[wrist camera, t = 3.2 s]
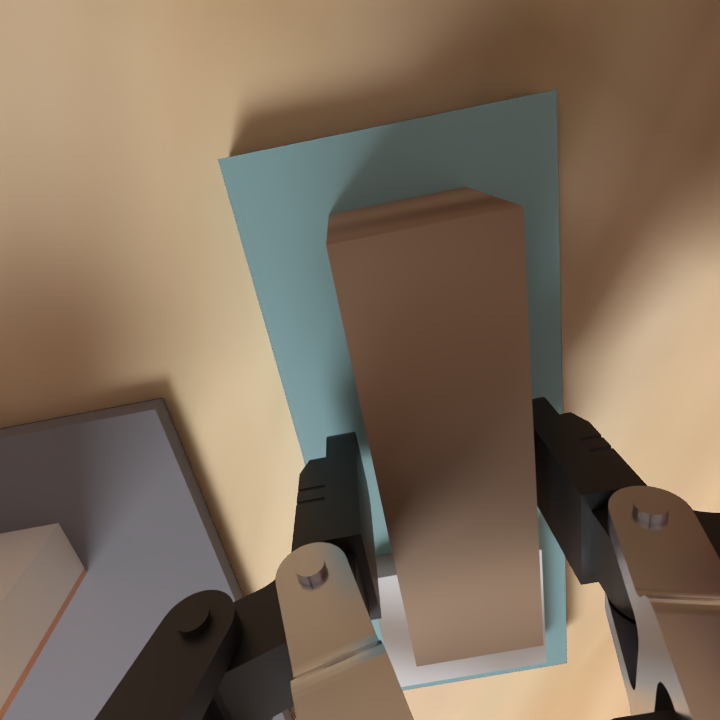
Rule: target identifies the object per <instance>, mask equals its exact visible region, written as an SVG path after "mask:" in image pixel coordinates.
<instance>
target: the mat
mask: <svg viewBox="0 0 720 720" xmlns="http://www.w3.org/2000/svg"><path fill="white" fill-rule="evenodd" d="M56 523H59V525H60V526H61V528H62V530H63V532H64V533H65V535H66V537H67V539H68V540H69V542H70V544H71V545H72V547H73V549H74V551H75V552H76V554H77V556H78V558H79V559H80V561H81V563H82V565H83V566H84V568H85V570H86V571H87V573H86V575H85V577H84V579H83V580H82V582H81V584H80V586H79V587H78V589H77V591H76V592H75V594H74V596H73V598H72V599H71V601H70V603H69V605H68V606H67V608H66V610H65V611H64V613H63V615H62V617H61V618H60V620H59V622H58V624H57V625H56V627H55V629H54V630H53V632H52V634H51V636H50V637H49V639H48V641H47V643H46V644H45V646H44V648H43V650H42V651H41V653H40V655H39V656H38V658H37V660H36V662H35V663H34V665H33V667H32V669H31V670H30V672H29V674H28V675H27V677H26V679H25V681H24V682H23V684H22V686H21V688H20V689H19V691H18V693H17V694H16V696H15V698H14V700H13V701H12V703H11V705H10V707H9V708H8V710H7V712H6V713H5V715H4V717H3V719H2V720H94V719H95V718H96V716H97V715H98V713H99V712H100V711H101V709H102V708H103V706H104V705H105V703H106V702H107V700H108V699H109V697H110V696H111V694H112V693H113V692H114V690H115V689H116V687H117V686H118V684H119V683H120V681H121V680H122V678H123V677H124V675H125V674H126V673H127V671H128V670H129V668H130V667H131V665H132V664H133V662H134V661H135V659H136V658H137V656H138V655H139V654H140V652H141V651H142V649H143V648H144V646H145V645H146V643H147V642H148V640H149V639H150V637H151V636H152V635H153V633H154V632H155V630H156V629H157V627H158V626H159V624H160V623H161V621H162V620H163V618H164V617H165V616H166V615H167V613H168V612H169V611H170V610H171V609H172V608H173V607H174V606H175V605H176V604H178V603H179V602H180V601H182V600H183V599H185V598H186V597H188V596H190V595H192V594H194V593H197V592H200V591H204V590H219V591H222V592H225V593H226V594H228V595H229V596H230V597H231V599H232V601H233V602H235V601H237V600H239V599H241V598H243V595H242V592H241V590H240V587H239V585H238V582H237V580H236V578H235V575H234V573H233V570H232V568H231V565H230V563H229V560H228V558H227V555H226V553H225V550H224V548H223V546H222V543H221V541H220V538H219V536H218V533H217V531H216V528H215V526H214V523H213V521H212V518H211V516H210V513H209V511H208V509H207V506H206V504H205V501H204V499H203V496H202V494H201V491H200V489H199V486H198V484H197V481H196V479H195V477H194V474H193V472H192V469H191V467H190V464H189V462H188V459H187V457H186V454H185V452H184V449H183V447H182V445H181V442H180V440H179V437H178V435H177V432H176V430H175V427H174V425H173V422H172V420H171V417H170V415H169V413H168V410H167V408H166V405H165V403H164V400H163V398H161V399H156V400H151V401H146V402H140V403H135V404H130V405H125V406H119V407H114V408H109V409H104V410H98V411H93V412H88V413H83V414H77V415H72V416H67V417H62V418H56V419H51V420H46V421H41V422H35V423H30V424H25V425H20V426H14V427H9V428H4V429H0V534H1V533H6V532H12V531H17V530H23V529H28V528H34V527H39V526H45V525H50V524H56ZM272 720H293V718H292V715H291V713H290V711H289V709H287V710H285V711H283V712H281V713H280V714H278V715H276V716H274V717H273V719H272Z"/></svg>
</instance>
